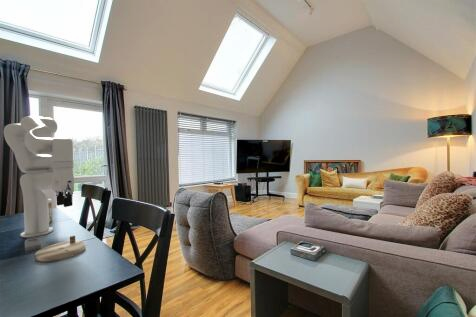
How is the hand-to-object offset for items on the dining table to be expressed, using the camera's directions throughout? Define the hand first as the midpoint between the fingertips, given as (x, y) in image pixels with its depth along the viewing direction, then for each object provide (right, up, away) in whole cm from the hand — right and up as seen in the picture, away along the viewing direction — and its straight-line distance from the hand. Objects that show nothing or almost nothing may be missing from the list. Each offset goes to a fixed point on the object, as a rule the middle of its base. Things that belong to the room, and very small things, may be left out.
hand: (64, 205), depth 103 cm
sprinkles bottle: (-37, -17, +35) cm, 53 cm away
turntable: (+6, -18, -10) cm, 21 cm away
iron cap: (-9, -18, -6) cm, 21 cm away
